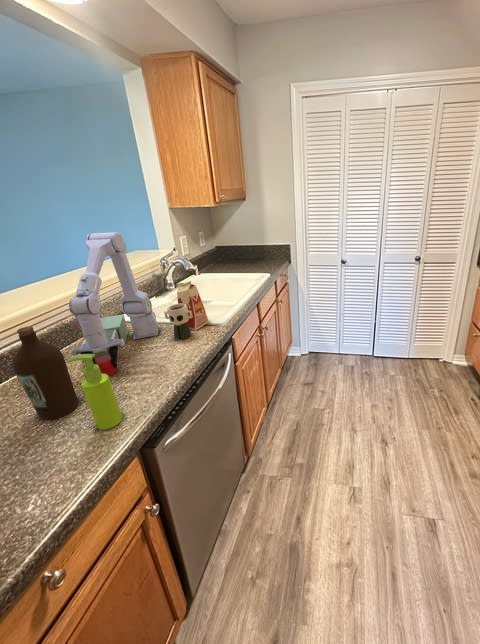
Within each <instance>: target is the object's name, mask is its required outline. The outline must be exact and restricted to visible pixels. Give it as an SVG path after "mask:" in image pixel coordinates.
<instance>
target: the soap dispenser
mask: <svg viewBox="0 0 480 644" xmlns="http://www.w3.org/2000/svg"><path fill="white" fill-rule="evenodd" d="M94 357H95V354H77V355H74V356H73V355H72V356H71V357H70V358H69V359H68V360H67V362H69V363H72V362H76V361H82V360H83V361H84V362H83V361H82V362H83V363H84V368H83V369H82V372H83V375H84V379H83V380H82V381H81V384H80V386H81V387H82V390H83V393H84V396H85V398H86V401H87V404H88V407H89V409H90V412H91V414H92V416H93V419H94V423H95V425H96V427H97V428H98V429H99V430H109V429H112V428H114V427H116V426H117V425H119V424H120V423H121V422H122V420H123V414H122V412H121V409H120V406H119V403H118V400H117V398H116V394H115V391H114V389H113V388H114V387H113V386H112V382H111V379H110V375H109V376H108V375H107V374H101V371H100V368H99V366H98V365H97V364H93V361H92V359H93V358H94Z"/></svg>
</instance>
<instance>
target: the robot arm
mask: <svg viewBox="0 0 480 644" xmlns="http://www.w3.org/2000/svg"><path fill="white" fill-rule="evenodd" d="M85 247H86V249H87V251H88V256H87V263H86V269H85V272H84V273H83V274H81V275H80V277H79V281H78V285H77V289H76V293H75V296H73V297H72V298H70V300H69V302H68V311H69V312H70V314H72V315H73V317H74V318H75V320H76V321H77V322H78V324H79V326H80V329H81V333H82V332H83V335H84V338H85V341H86V343H87V344H85V345H82V344H81V345H78V346H75V347H72V349H71V353H72V357H73V356H76V355H80V353H81V354H93V352H96V351H100V350H102V349H107V348H110V349H109V351H108V353H109V355H110V357H111V359H112V362H113V366H114V368H116V369H117V368H118V356H117V352H118V351H119V349H118V347H119V348H120V347H125V345H126V342H125V343H124V339H113V340H107V337H106V334H105V331H104V328H103V325H102V322H101V319H100V318H101V315H100V313H99V312H100V311H101V310H100V309H101V308H102V307H101V305H102V304H101V301H100V300H101V297H100V295H99V294H100V290H101V286H102V281H103V280H102V278H101V277H100V273H101V270H102V269H103V268H102V267H103V265H104V263H105V259H106V257H110V259H111V263H112V265H113V267H114V270H115V273H116V276H117V279H118V282H119V284H120V287H121V289H122V292H123V295H122V296H121V297H120V298H119V300H120V305H121V306H120V308H121V311H122V313H123V314H124V315H126V317H127V318H129V321H130V324H131V327H132V331H133V336H132V340H138V339H144V338H149V337H155V336H159V324H158V321H157V316H156V314H155V311H153V312H151V310H153V304H152V300H151V299H150V298H149V295H148V293H147V292H143V291H141V290H139V289H138V285H137V283H136V280H135V277H134V274H133V271H132V268H131V265H130V262H129V259H128V256H127V252H128V248H127V245H126V242H125V238H124V235H123V234H121V233H119V232H118V231H113V232H112V231H111V232H89V233H88V234H87V235H86V239H85ZM146 293H147V294H146ZM149 299H150V300H149ZM83 335H82V336H83ZM84 338H83V339H84ZM92 361H93V364H95V363H94V361H95V358H93V359H92Z"/></svg>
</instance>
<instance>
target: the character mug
mask: <svg viewBox="0 0 480 644" xmlns="http://www.w3.org/2000/svg"><path fill="white" fill-rule="evenodd" d="M166 310H167V311H164V312H163V313H164V318H165V319H166V320H169V322H170V324H172V325H173V334H174V338H175V339H177V340H182V339H187V338H189V337H190V336H191V334H192V332H191V329H189V326H188V324H187V321H188V320H189V318H193V316H192V311H187V306H186V305H185V304H178V303H175V304H171V305H169V306H168V307H167V309H166ZM188 313H190V316H188Z"/></svg>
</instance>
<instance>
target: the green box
mask: <svg viewBox="0 0 480 644" xmlns="http://www.w3.org/2000/svg"><path fill="white" fill-rule="evenodd" d="M100 319H101V322H102V325H103V328H104V331H108V330H113V329H117V330H118V333H119V336H120V339H124V343H125V344H126V341H127V339H128V334H129V329H128V325H127V322H126V318H125V314H124V313H123V314H117V315H110V316H104V317H100ZM81 334H82V338H83V340H84V339H85V338H84V335H83V332H82V331H81Z"/></svg>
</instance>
